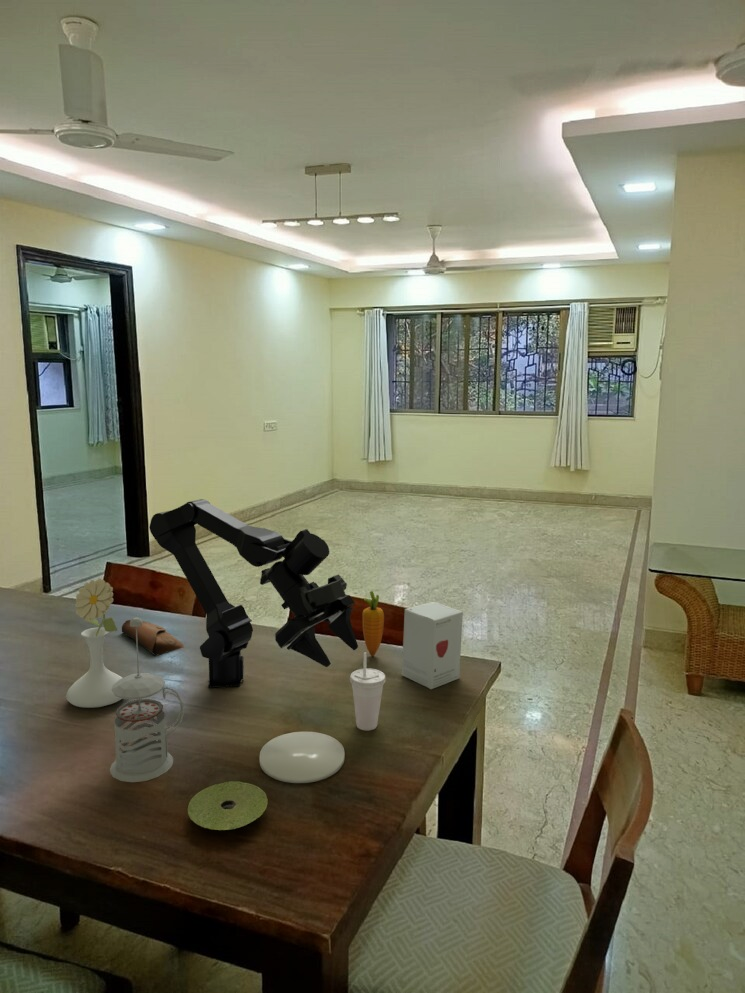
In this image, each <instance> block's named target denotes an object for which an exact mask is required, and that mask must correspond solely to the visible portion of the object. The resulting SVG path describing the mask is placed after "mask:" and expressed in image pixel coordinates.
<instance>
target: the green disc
mask: <svg viewBox="0 0 745 993" xmlns="http://www.w3.org/2000/svg"><path fill="white" fill-rule="evenodd" d="M267 806H268V797H267V794H266V792H265V791H264V790H263V789H261V788H260V787H259V786H257V785H255V784H252V783H249V782H243V781H225V782H221V783H216V784H213V785H210V786H208V787H205V788H204V789H202V790H200V791H199V792H197V793H196V794H195V795H194V796H193V797H192V798H191V799H190V800H189V803H188V806H187V815H188V817H189V819H190V820H191V821H192V822H193V823H195V824H196V825H197V826H200V827H201V828H204V829H209V830H212V831H213V830H215V831H217V830H218V831H226V830H227V831H229V830H235V829H238V828H241V827H244V826H247V825H248V824H251V823H252V822H254V821H256V820H258V818H260V817H261V816H262V815H263V814H264V813H265V811H266V809H267Z"/></svg>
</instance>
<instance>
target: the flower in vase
mask: <svg viewBox="0 0 745 993" xmlns="http://www.w3.org/2000/svg"><path fill="white" fill-rule="evenodd" d="M113 591H114V587H113V586H111V584H110V583H109V582H106V581H105V580H104V579H102V578H98V579H96V580H94V579H91V580H90V581H89V582H85V583H84V585H83V587H79V589H78V593H76V596H75V604H74V606H75V608H76V610H75V613H76V615H77V616H79V618H81V619H82V618H83V620H84V621H85V622H87V623H89V624H92V625H94V626H96V627H91V628H88V629H85V630H82V631H81V632H80V635H81V637H82V638H84V640H85V642H86V644H87V646H88V649H89V650H88V651H89V657H90V658H89V660H90V662H89V663H90V664H89V669H88V671H87V672H85V673H84V674H83V675H82V676H81V677H79V678H78V679H77V680H76V681H75V682H73V683H72V684H71V686H70V687H69V688H68V690H67V692H66V694H65V695H66V696H65V698H66V700H67V702H69V703H70V704H71V705H73V706H74V707H79V708H88V709H89V708H90V709H91V708H94V709H95V708H101V707H104V706H105V707H106V706H108V705H109V706H110V705H112V704H115V703H118V702H119V701H121V700H122V699H121V698H119V697H117V696H115V695H114V693H113V692H112V690H111V689H112V686H113V685H114V684H115V683H116V682H117V681H119V680H120V679H122V678H123V676H120V675H119V674H117V673H115V672H114V671H111V670H109V669H108V668H107V667H106V666H105V663H104V655H103V654H104V644H105V640H106V638H107V636H108V634H109V633H111V632H116V631H118V628H117V626H116V623H115V621H114V619H113V618H112V617H108V618H106V613H107V611H109V609H110V608H111V607H110V606H111V605H112V603H113V602H114V598H113V597H114V593H113ZM100 618H102V620H101V623H100V624H99V621H98V620H97V619H100Z"/></svg>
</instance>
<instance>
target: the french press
mask: <svg viewBox="0 0 745 993" xmlns="http://www.w3.org/2000/svg"><path fill="white" fill-rule="evenodd" d="M130 620H131V621H130V626H132V627H136V641H135V643H136V644H135V645H136V668H137V672H136V673H131V674H129V675H127V676H124V677H122V679H120V680H119V681H117V682H116V683H115V684H114V685H113V686H112V689H111V690H112V692H113V693H114V695H115V696H117V697H119V698H121V700H122V699H123V700H130V701H128V702H126V703H123V704H121V705H120V706H119V707H118V708H117V709H116V711H115V715H116V717H115V718H114V739H115V741H114V743H115V760H114V761H113V762H112V763H111V765H110V768H109V773H110V774H111V776H112V778H114V779H116V780H118V781H120V782H125V783H126V782H127V783H138V782H140V783H141V782H147V781H150V780H153V779H156V778H158V777H160V776H162V775H163V774H165V773H167V772H168V771H169V770H170V768H172V766H173V764H174V757H173V756H172V754H170V752H168V736H169V734H171V733H172V732H175V731H176V729H177V728H179V726H180V725H181V723H182V721H183V719H184V712H185V710H184V704H183V701H182V698H181V696H180V695H179V693H178V691H176V690H174V689H173V688H170V687H168V686H165V685H166V684H165V683H166V680H165V679H164V678H163V677H162V676H158V675H156V674H152V673H149V672H140V670H139V669H140V667H139V666H140V664H139V643H138V639H137V626H141V625H142V621H143V620H142V618H140V617H138V616H137V617H133V618H131V619H130ZM165 690H167V691H165ZM168 690H170V691H168ZM161 691H162V698H163V700H166V696H167V695H166V694H170V695H173V696H174V697H176V698H177V700H178V701H179V704H180V711H179V714H178V716H177V718H176V720H175V721H174V722H173V723H172V724H170V725H169V726H167V727H166V717H165V711H163V709H164V707H163V706H164V705H163V703H161V701H159V700H156V699H152V698H151V697H152V696H155V695H157V694H160V692H161ZM155 718H156V719H155ZM143 721H150V722H153V723H147V722H143ZM178 721H179V722H178ZM139 722H143V723H140V724H138V725H136V724H137V723H139ZM177 722H178V724H177ZM127 723H129V724H128V725H126V724H127ZM154 723H155V725H154ZM175 724H177V725H176V726H175ZM124 725H126V726H124ZM134 725H135V726H134ZM122 726H124V727H123V728H122ZM173 726H175V727H174V728H173V729H171V730H169V729H170V728H172V727H173ZM131 727H133V728H132V729H130V728H131ZM167 730H169V731H168V732H167ZM147 735H149V737H148V736H147ZM121 742H122V743H121ZM129 743H131V744H130V745H129ZM127 745H129V746H127ZM121 750H123V751H121Z"/></svg>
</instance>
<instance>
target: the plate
mask: <svg viewBox="0 0 745 993" xmlns="http://www.w3.org/2000/svg"><path fill="white" fill-rule="evenodd" d="M345 755H346V754H345V749H344V746H343V744H342V743H341V742H339V740H337V739H336V738H334V737H333V736H330V735H328V734H325V733H320V732H316V731H294V732H289V733H288V732H287V733H285V734H281V735H278V736H276V737H274V738H272V739H270V740H269V741H268V742H266V743H265V744H264V745H263V746H262V748H261V750H260V752H259V765H260V768H261V770H262V771H263V773H265V774H266V775H267V776H268V777H270V778H273V779H275V780H277V781H280V782H284V783H291V784H308V783H309V784H310V783H314V782H315V783H316V782H318V781H322V780H325V779H328V778H329V777H332V776H333V775H335V774H337V772H339V770H341V768H342V767H343V765H344V763H345V757H346V756H345Z"/></svg>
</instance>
